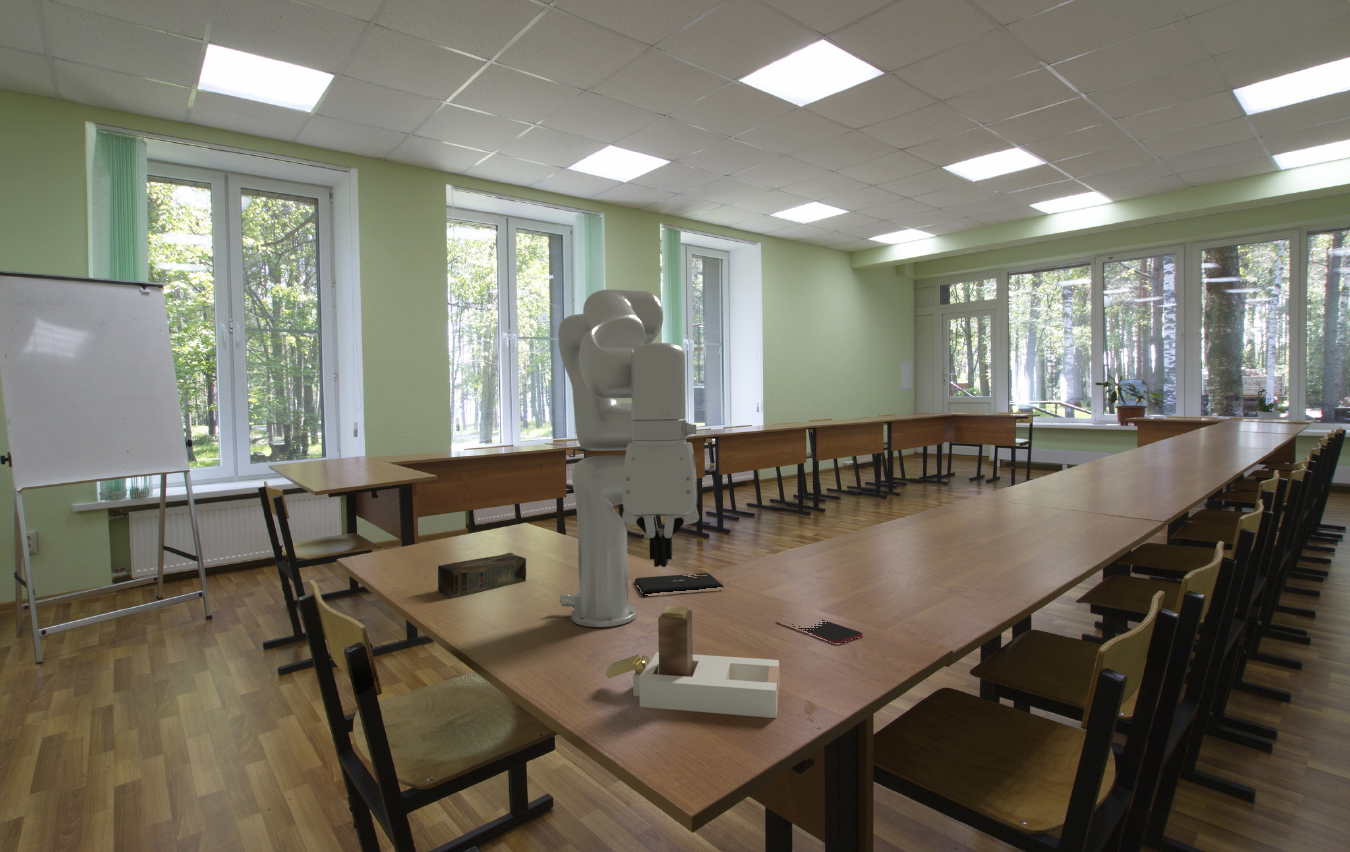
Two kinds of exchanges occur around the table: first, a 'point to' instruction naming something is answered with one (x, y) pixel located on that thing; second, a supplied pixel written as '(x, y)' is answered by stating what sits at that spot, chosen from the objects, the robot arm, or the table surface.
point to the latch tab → (628, 665)
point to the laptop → (676, 583)
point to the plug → (675, 642)
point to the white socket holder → (713, 686)
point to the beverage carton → (481, 574)
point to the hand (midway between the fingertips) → (661, 564)
